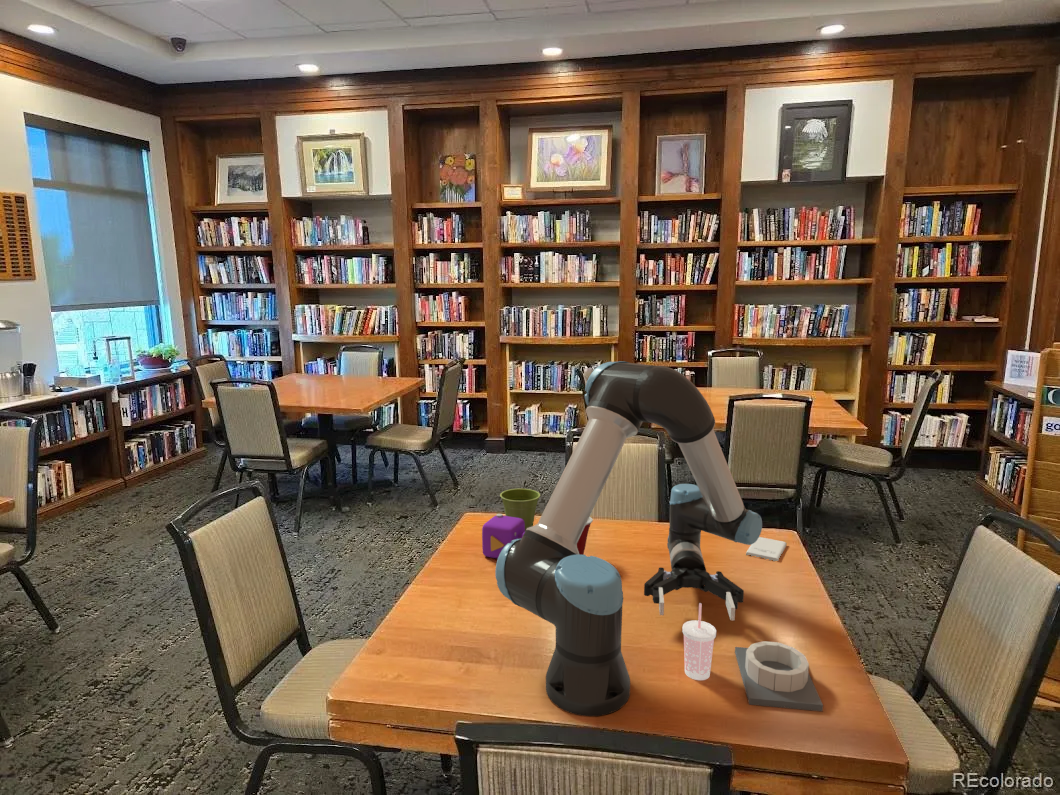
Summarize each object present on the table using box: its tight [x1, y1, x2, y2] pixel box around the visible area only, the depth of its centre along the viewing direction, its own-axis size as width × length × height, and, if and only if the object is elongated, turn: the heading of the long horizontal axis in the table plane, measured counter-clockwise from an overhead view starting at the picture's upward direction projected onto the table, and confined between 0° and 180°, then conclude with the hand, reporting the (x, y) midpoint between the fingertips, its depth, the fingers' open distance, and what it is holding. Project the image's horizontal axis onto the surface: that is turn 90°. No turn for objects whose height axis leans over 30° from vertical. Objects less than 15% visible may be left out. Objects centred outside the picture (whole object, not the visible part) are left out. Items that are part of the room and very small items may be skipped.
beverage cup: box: [681, 602, 717, 681], centre depth 118 cm, size 6×6×14 cm
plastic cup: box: [577, 516, 594, 555], centre depth 167 cm, size 11×11×12 cm
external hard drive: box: [745, 536, 787, 562], centre depth 173 cm, size 2×8×12 cm
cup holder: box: [734, 640, 824, 712], centre depth 116 cm, size 12×16×4 cm
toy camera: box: [481, 513, 525, 560], centre depth 171 cm, size 11×14×10 cm
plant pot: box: [499, 488, 541, 531], centre depth 187 cm, size 12×12×11 cm
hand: (697, 611), depth 125 cm, fingers open, 13 cm apart
